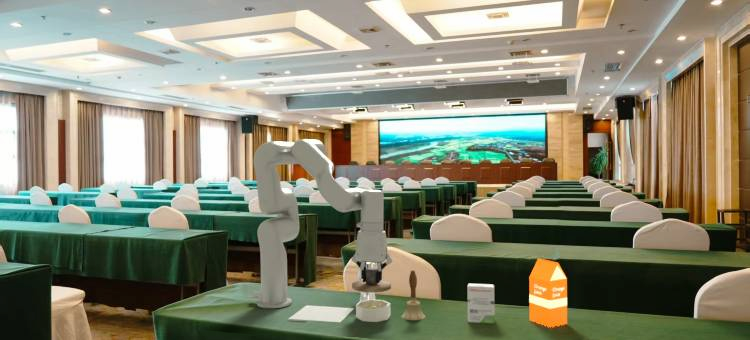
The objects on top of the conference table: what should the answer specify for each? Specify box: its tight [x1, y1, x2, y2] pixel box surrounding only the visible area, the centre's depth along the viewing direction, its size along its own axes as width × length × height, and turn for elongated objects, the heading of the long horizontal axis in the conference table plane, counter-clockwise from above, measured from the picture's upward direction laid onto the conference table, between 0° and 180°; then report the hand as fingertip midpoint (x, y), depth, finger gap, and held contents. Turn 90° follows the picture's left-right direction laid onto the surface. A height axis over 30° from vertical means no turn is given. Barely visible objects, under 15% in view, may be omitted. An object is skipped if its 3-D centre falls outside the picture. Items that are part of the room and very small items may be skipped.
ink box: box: [466, 282, 496, 324], centre depth 168 cm, size 9×5×12 cm, turn 77°
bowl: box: [355, 299, 392, 323], centre depth 172 cm, size 11×11×5 cm
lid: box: [351, 268, 392, 293], centre depth 172 cm, size 13×13×6 cm
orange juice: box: [528, 257, 568, 329], centre depth 166 cm, size 8×9×20 cm
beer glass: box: [357, 262, 378, 301], centre depth 192 cm, size 7×7×15 cm
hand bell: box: [401, 270, 426, 321], centre depth 171 cm, size 8×8×16 cm
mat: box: [287, 304, 355, 323], centre depth 176 cm, size 18×16×1 cm
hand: (371, 281), depth 172 cm, fingers closed on lid, 4 cm apart
